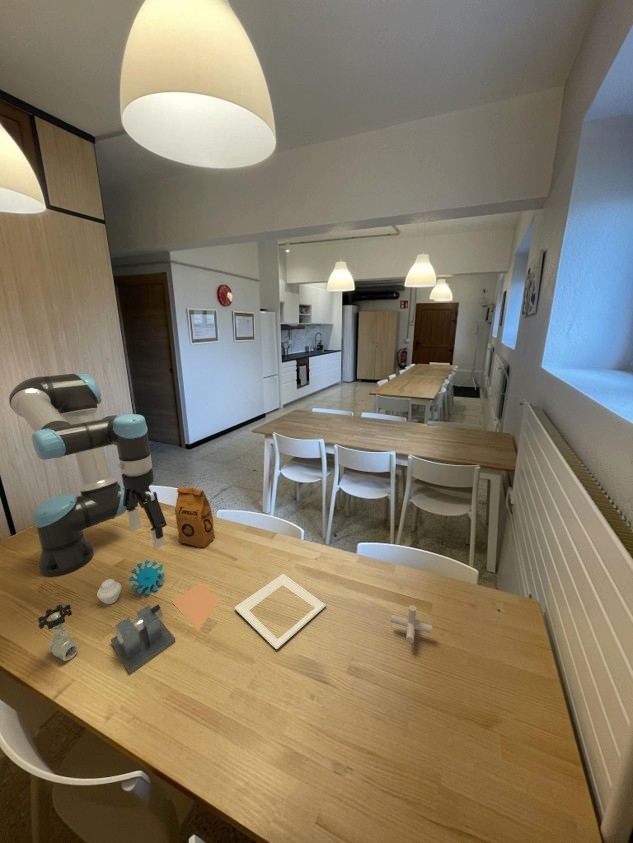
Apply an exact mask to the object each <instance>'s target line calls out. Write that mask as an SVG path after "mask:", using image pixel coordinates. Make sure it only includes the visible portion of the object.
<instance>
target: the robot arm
mask: <svg viewBox="0 0 633 843" xmlns="http://www.w3.org/2000/svg"><path fill="white" fill-rule="evenodd" d="M101 403H102V393H101V390H100V387H99V385H98V383H97V382H96V380H95V379H94V377H92V376H91V375H90V374H88V373H68V374H66V373H65V374H57V375H48V376H47V375H46V376H44V375H43V376H36V377H35V376H34V377H30V378H28V379H25V380H24V381H22V382H20V383H19V384H17V385H16V386H14V388H13V389H12V391H11V392H10V394H9V397H8V404H9V406H10V408H11V409H12V411H13V412H14V413H15V414H16V415H18V416H19V417H22V418H24V420H25V421H26V422H27V424H28V426H30V428H31V429H32V430H33V433H32V436H31V438H32V439H31V440H32V444H33V448H34V451H35V453H36V455H37V457H38V458H39V459H40V460H44V461H45V460H50V459H51V460H52V459H59V458H62V457H66V456H69V455H73V454H75V458H76V462H77V465H78V468H79V472H80V473H79V474H80V476H81V479H82V486H81V488H80V489H79V491H80V495H78V496H75V495H74V494H71V493H69V494H67V493H66V494H60V495H57V496H55V497H51V498H50V499H47V500H46V501H44V502H42V503H41V504H40V505H39V506H37V507H36V508H35V510H34V512H33V519H34V523H33V524H34V526H35V527H36V532H37V536H38V539H39V544H40V547H41V553H40V554H41V555H40V560H39V563H38V564H39V565H38V567H39V571H40V573H41V575H42V576H44V577H47V578H55V577H56V578H57V577H61V576H65V575H69V574H71V573H73V572H76V571H78V570H79V569H82V568H83V567H85V566H86V565H87V564H89V562H90V561H92V560H93V557H94V555H95V552H94V549H93V546H92V545H91V543H90V542H89V540H88V539H87V537H85V535H84V530H86V529H88V528H91V527H94V526H97V525H99V524H101V523H104V522H107V521H109V520H113V519H115V518H116V517H119V516H121V515H124V514H125V512H126V511H127V514H128V516H127V517H128V522H129V526H130V527H129V528H130V531H131V532H134V531H136V530H139V529H140V528H142V524H141V518H140V511H139V508H138V507H139V506H140V508H141V509H143V510H144V513H145V514H146V516H147V518H148V521H149V522H150V525H151V526H152V527H151V528H150V531H151V537H152V544H153V549H154V550H157V549H159V548H161V547H163V546H165V536H164V529H163V528H164V527H167V521H166V518H165V515H164V513H163V510H162V508H161V505H160V502H159V498H158V494H157V493H158V492H156V491H153V492H152V491H151V489H150V486H151V485H152V484H153V483H154V480H155V478H154V470H153V462H152V461H153V460H152V455H151V450H150V444H149V443H150V442H149V434H148V426H147V423H146V419H145V416H144V415H141V414H135V413H131V414H129V413H128V414H123V415H117V414H107V415H103V417H101V418H99V419H96V415H95V414H96V412H97V411H98V410H99V407H98V405H99V404H101ZM113 445H114V446H116V448H117V449H116V450H117V455H118V460H119V464H118V468H120V471H121V473H122V474H121V480H122V483H121V482H118V480H117V479H116V478H114V477H112V475H111V471H110V468H109V467H110V466H109V463H108V460H107V456H106V452H105V448H104V447H109V446H113Z"/></svg>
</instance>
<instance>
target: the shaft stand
mask: <svg viewBox="0 0 633 843" xmlns="http://www.w3.org/2000/svg"><path fill="white" fill-rule="evenodd" d="M136 615H137V616H136V617H137V619H136V620H135V621H134V620H133V621H132V620H131V619H130V617H126V618H125V619H123V620H121V621H120V622H118V623H116V624H115V630H116V631H115V632H116V633H115V636H114V637H112V638H110V644H111V645H112V648H113V649H114V651H115V653H116V654H117V655H118V658H119V659H120V661H121V662H122V664H123V665H124V667H125V669H126V670H127V672H128V674H129V675H132V674H134V673H135V672H136V671H137V670H139V669H141V668H142V666H145V664H147V663H148V662H150V661H152V659H154V658H155V657H157V656H158V655H159V654H161V653H162V652H164V651H165V650H167V649H168V648H169V647H170V646H172V645H173V644H175V643H176V637H175V636H174V635H173V634H172V632H171V631H170V630H169V628H167V626H166V625H165V624H164V623H163V621H162V619H163V618H164V614H163V612H162V609H161V606H160V604H156V605H155V606H153V607H151V606H150V605H147V606H145V607H143V608H141V609H140V610H138V611H136Z"/></svg>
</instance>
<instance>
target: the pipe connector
mask: <svg viewBox="0 0 633 843" xmlns="http://www.w3.org/2000/svg"><path fill="white" fill-rule="evenodd" d="M407 613H408V614H407V618H406V617H401V616H399V615H393V614H391V617H390V623H393V624H395V625H399V626H403V627H406V638H405V640H406V642H407V643H409V644H414V642H415V630H418V631H422V632H425V633H428V634H432V632H433V625H432V624H429V623H424V622H421V621H416V617H417V615H416V614H417V607H416V606H415V605H414V604H411V605H409V606H408V612H407Z"/></svg>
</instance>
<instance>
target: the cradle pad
mask: <svg viewBox="0 0 633 843" xmlns="http://www.w3.org/2000/svg"><path fill="white" fill-rule="evenodd" d="M220 601H221V598H220V597H218V595H217V594H216V593H215V592H213V591H212V590H211V589H210V588H209V587H208V586H207V585H206V584H204V582H201V583H199V584H197V585H196V586H194V587H192V588H191V589H189V590H188V591H186V592H184V593H183V594H182V595H179V596H178V597H177V598H175V599H173V600H172V601H171V603H172V605H174V606H175V607H176V608H177V609H178V611H179V612H180V613H181V615H183V616H184V617H185V618H186V619H187V621H188V622H190V624H191V625H192V626H193V627H194V628H195V629H196V630H197V631H198V632H199V631H200V630H201V628H202V627H203V625H204V624H205V623H206V621H207V619H208V618H209V617H210V616H211V614H212V613H213V611H214V610H215V608H216V607H217V605H218V604H219V603H220Z"/></svg>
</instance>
